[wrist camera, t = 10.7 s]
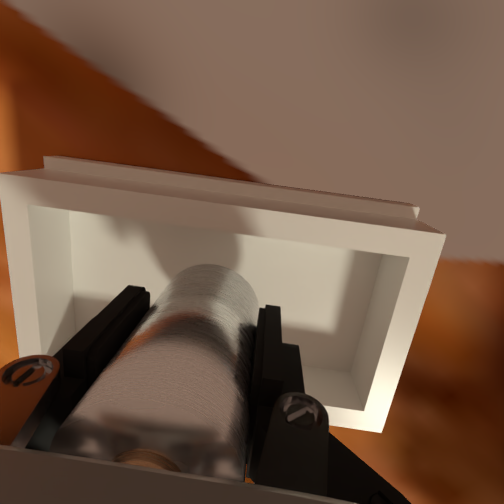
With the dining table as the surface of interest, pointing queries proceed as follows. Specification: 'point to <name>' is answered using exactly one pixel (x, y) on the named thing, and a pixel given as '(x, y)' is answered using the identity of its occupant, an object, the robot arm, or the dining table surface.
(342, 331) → the trough
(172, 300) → the cylinder
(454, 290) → the dining table surface
